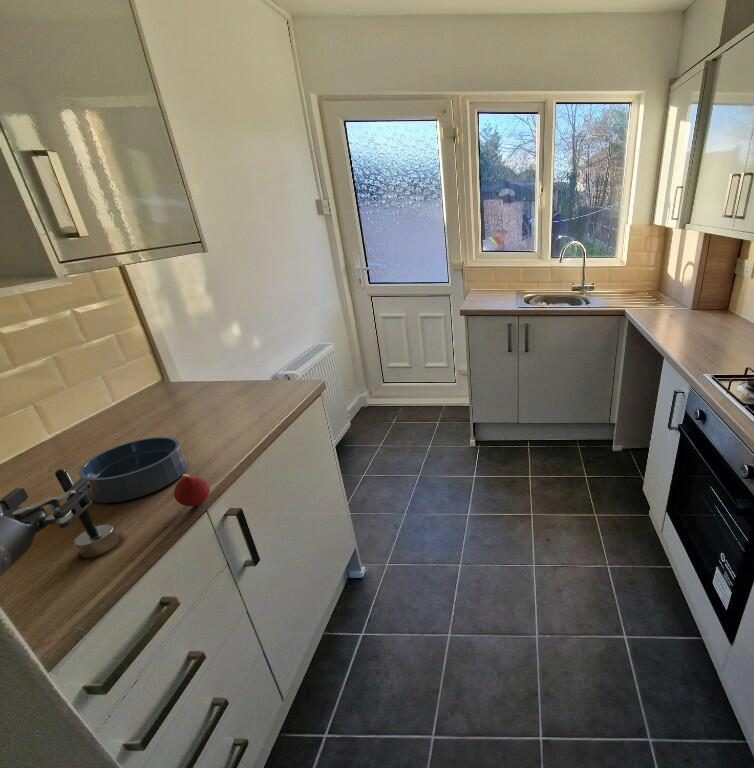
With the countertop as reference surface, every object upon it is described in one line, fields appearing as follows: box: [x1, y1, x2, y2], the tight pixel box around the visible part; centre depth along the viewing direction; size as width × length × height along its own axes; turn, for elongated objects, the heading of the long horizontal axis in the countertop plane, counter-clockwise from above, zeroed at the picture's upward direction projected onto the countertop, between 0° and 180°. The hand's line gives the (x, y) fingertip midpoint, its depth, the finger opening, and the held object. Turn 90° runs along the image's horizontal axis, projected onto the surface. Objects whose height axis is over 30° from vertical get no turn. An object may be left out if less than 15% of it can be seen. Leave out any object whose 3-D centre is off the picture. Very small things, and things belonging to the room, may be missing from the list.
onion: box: [173, 473, 211, 508], centre depth 86 cm, size 6×6×8 cm
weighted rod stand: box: [54, 468, 120, 559], centre depth 74 cm, size 5×5×17 cm
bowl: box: [77, 436, 188, 504], centre depth 95 cm, size 17×17×6 cm
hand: (55, 487), depth 69 cm, fingers open, 8 cm apart
